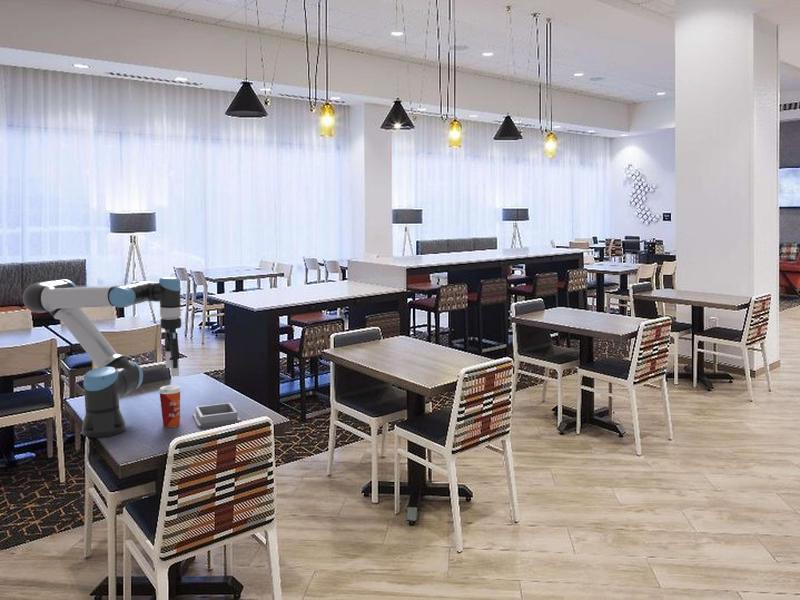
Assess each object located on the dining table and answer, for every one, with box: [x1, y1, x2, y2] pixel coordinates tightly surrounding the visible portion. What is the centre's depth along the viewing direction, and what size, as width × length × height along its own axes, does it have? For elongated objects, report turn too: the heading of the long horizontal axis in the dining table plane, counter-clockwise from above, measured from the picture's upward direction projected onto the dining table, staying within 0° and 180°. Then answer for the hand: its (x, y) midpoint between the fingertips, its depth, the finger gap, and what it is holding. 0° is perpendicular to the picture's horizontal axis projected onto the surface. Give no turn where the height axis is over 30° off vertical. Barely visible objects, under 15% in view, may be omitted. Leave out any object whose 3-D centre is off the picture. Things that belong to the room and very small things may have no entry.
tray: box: [192, 402, 242, 429], centre depth 267 cm, size 16×16×4 cm
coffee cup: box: [158, 384, 182, 428], centre depth 260 cm, size 8×8×15 cm
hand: (172, 371), depth 260 cm, fingers open, 13 cm apart
